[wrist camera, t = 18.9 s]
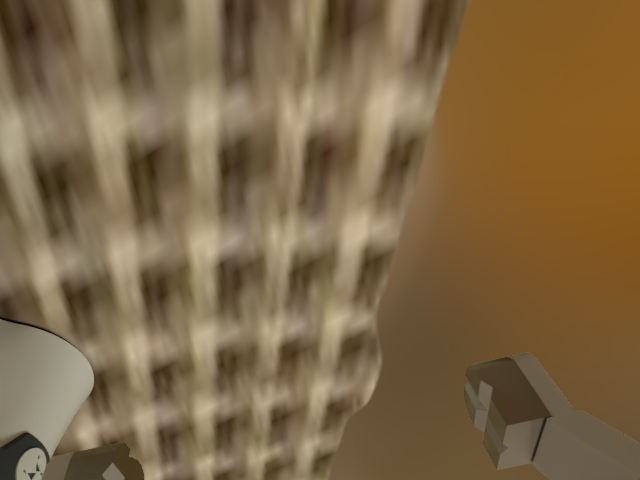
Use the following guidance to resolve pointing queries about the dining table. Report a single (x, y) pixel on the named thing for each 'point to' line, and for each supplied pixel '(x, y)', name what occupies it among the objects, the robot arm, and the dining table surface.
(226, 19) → the dining table surface
